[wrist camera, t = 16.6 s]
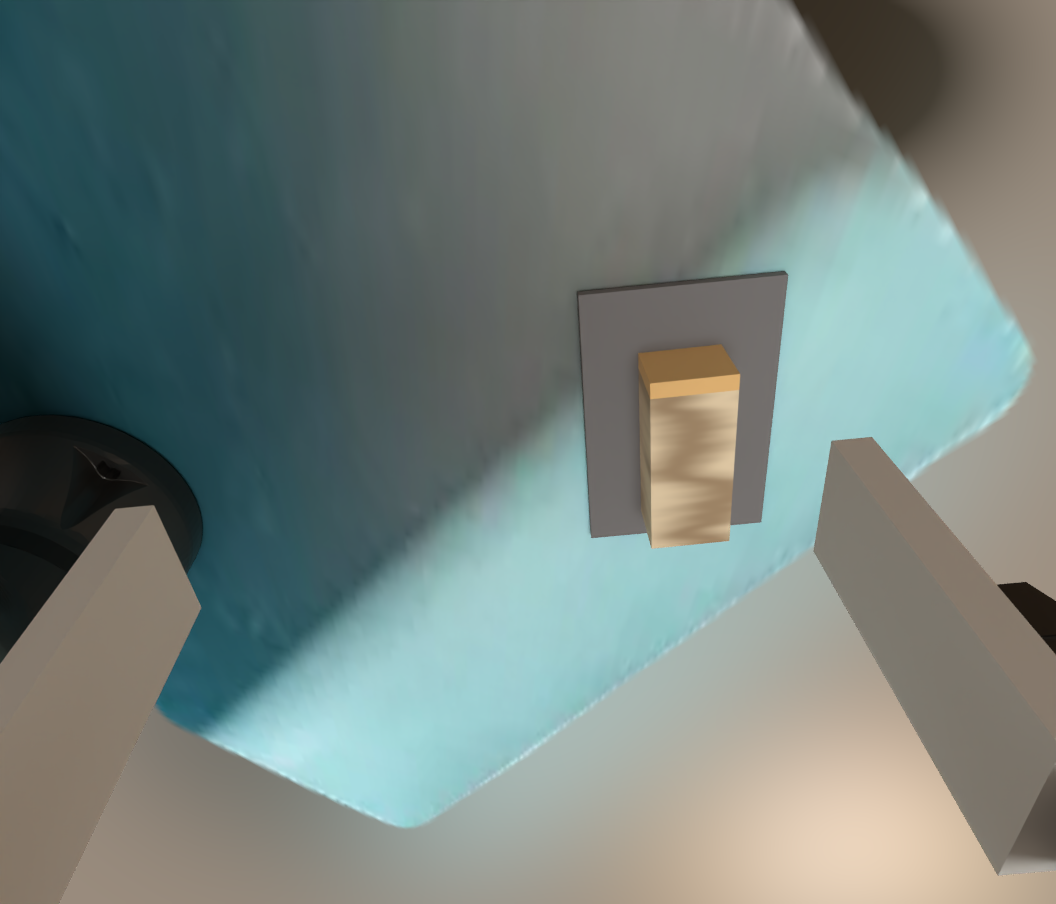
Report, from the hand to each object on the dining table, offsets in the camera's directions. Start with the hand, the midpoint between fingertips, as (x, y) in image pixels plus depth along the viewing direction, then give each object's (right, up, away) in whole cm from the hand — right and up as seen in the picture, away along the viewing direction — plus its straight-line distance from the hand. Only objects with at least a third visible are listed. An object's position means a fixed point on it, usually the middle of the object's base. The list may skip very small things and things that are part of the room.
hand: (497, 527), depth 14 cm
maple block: (+11, -3, +34) cm, 36 cm away
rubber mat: (+10, +4, +32) cm, 34 cm away
